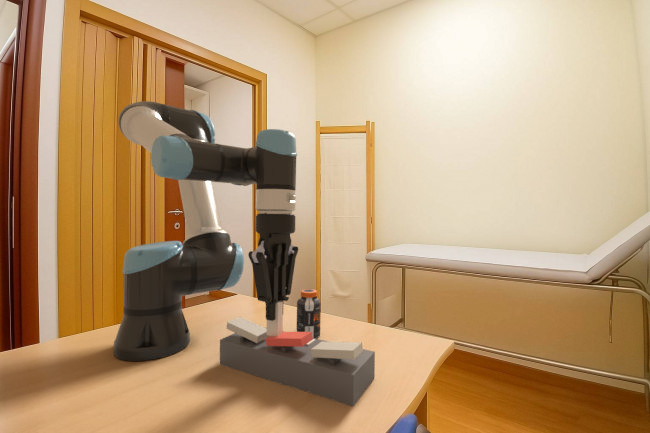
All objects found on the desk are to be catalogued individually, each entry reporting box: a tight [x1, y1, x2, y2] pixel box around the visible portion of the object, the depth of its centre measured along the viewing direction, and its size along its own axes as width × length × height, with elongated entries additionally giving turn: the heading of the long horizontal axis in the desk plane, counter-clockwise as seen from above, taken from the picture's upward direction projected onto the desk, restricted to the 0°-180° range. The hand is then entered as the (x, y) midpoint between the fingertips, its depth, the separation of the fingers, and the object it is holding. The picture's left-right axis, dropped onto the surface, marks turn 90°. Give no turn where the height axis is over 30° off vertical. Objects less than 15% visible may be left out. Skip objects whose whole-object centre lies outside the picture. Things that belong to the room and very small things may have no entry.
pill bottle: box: [296, 288, 322, 339], centre depth 81 cm, size 6×6×11 cm
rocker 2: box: [311, 341, 364, 359], centre depth 56 cm, size 8×4×1 cm, turn 62°
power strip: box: [219, 326, 376, 407], centre depth 63 cm, size 29×10×6 cm, turn 62°
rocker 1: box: [226, 316, 269, 343], centre depth 66 cm, size 8×4×1 cm, turn 62°
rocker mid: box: [266, 331, 313, 347], centre depth 61 cm, size 8×4×1 cm, turn 62°
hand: (274, 334), depth 63 cm, fingers closed
